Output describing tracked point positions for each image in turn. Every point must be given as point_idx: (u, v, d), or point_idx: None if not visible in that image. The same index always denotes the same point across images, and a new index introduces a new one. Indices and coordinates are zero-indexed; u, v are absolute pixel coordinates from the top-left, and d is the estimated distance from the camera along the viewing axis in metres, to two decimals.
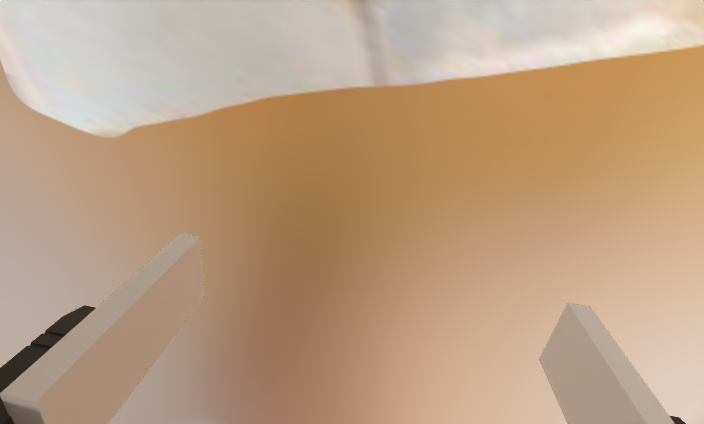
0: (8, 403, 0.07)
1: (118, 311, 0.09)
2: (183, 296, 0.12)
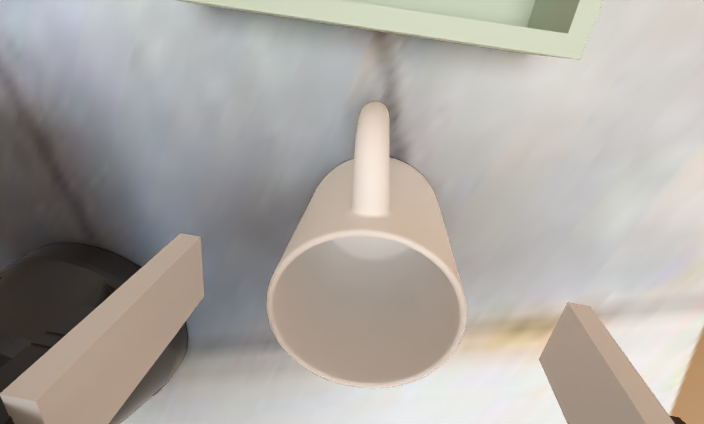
0: (8, 403, 0.07)
1: (118, 311, 0.09)
2: (183, 296, 0.12)
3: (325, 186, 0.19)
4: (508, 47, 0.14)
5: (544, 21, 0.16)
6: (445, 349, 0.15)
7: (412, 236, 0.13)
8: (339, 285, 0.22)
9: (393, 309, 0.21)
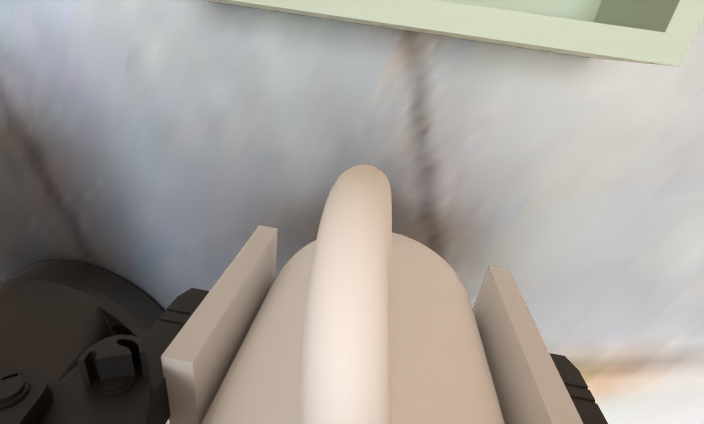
0: (166, 365, 0.08)
1: (231, 291, 0.10)
2: (265, 282, 0.14)
3: (277, 301, 0.11)
4: (582, 50, 0.11)
5: (621, 17, 0.13)
6: None
7: None
8: None
9: None
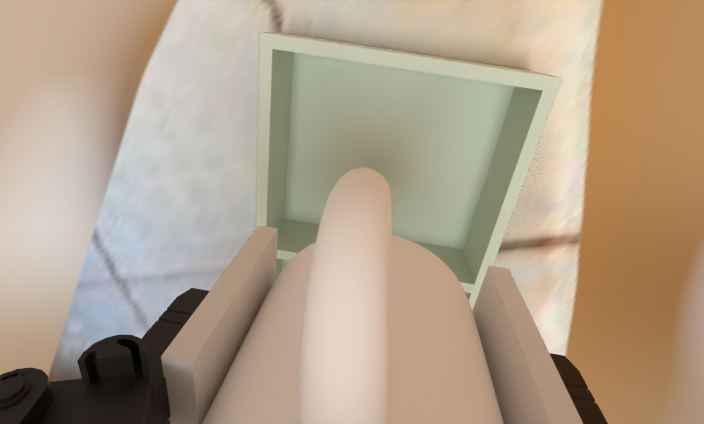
0: (167, 365, 0.08)
1: (231, 291, 0.10)
2: (265, 282, 0.14)
3: (276, 305, 0.11)
4: None
5: None
6: None
7: None
8: None
9: None
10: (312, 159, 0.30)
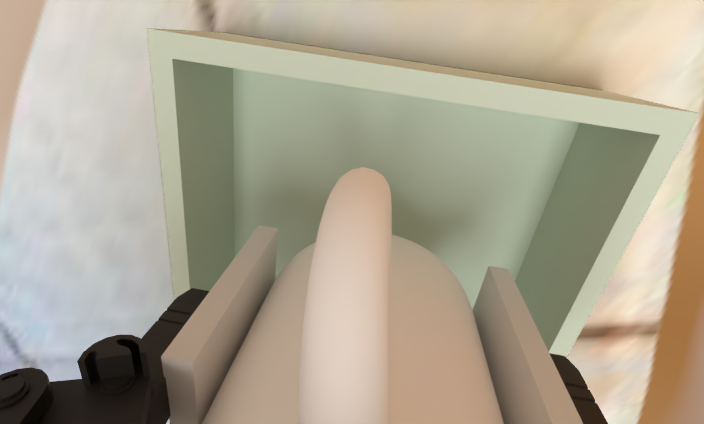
0: (166, 365, 0.08)
1: (231, 291, 0.10)
2: (265, 282, 0.14)
3: (276, 305, 0.11)
4: None
5: None
6: None
7: None
8: None
9: None
10: (271, 218, 0.20)
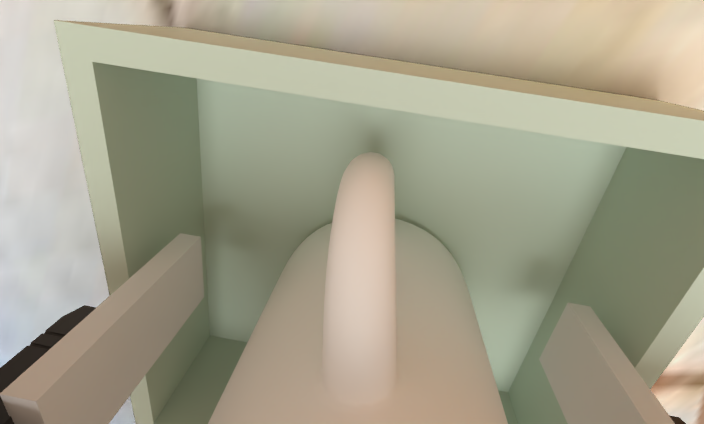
0: (8, 403, 0.07)
1: (118, 311, 0.09)
2: (183, 296, 0.12)
3: (292, 277, 0.12)
4: None
5: None
6: None
7: None
8: None
9: None
10: (249, 250, 0.17)
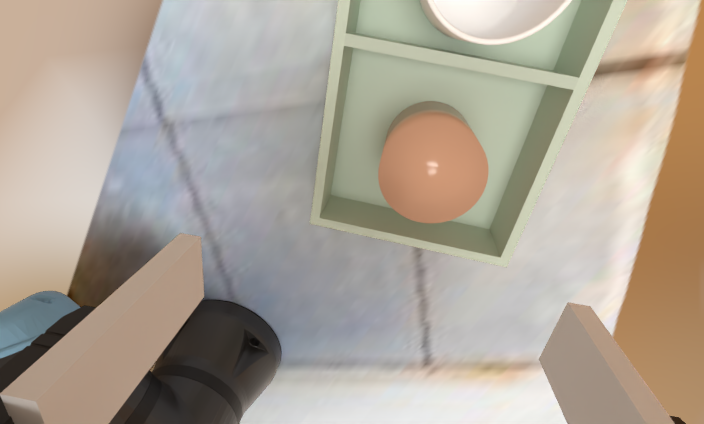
0: (8, 403, 0.07)
1: (118, 311, 0.09)
2: (183, 296, 0.12)
3: None
4: (474, 259, 0.31)
5: (496, 235, 0.33)
6: None
7: None
8: None
9: (499, 33, 0.23)
10: None
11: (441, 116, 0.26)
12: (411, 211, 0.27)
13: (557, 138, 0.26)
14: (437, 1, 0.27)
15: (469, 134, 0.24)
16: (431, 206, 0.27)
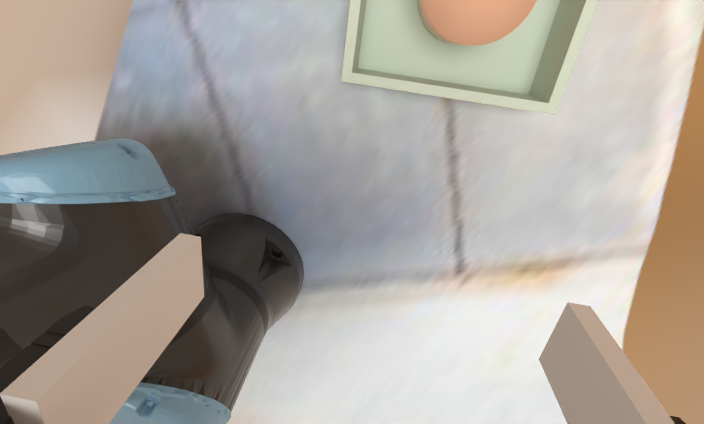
0: (8, 403, 0.07)
1: (118, 311, 0.09)
2: (183, 296, 0.12)
3: None
4: (520, 108, 0.29)
5: (538, 91, 0.31)
6: None
7: None
8: None
9: None
10: None
11: None
12: (458, 31, 0.25)
13: None
14: None
15: None
16: (481, 22, 0.24)
